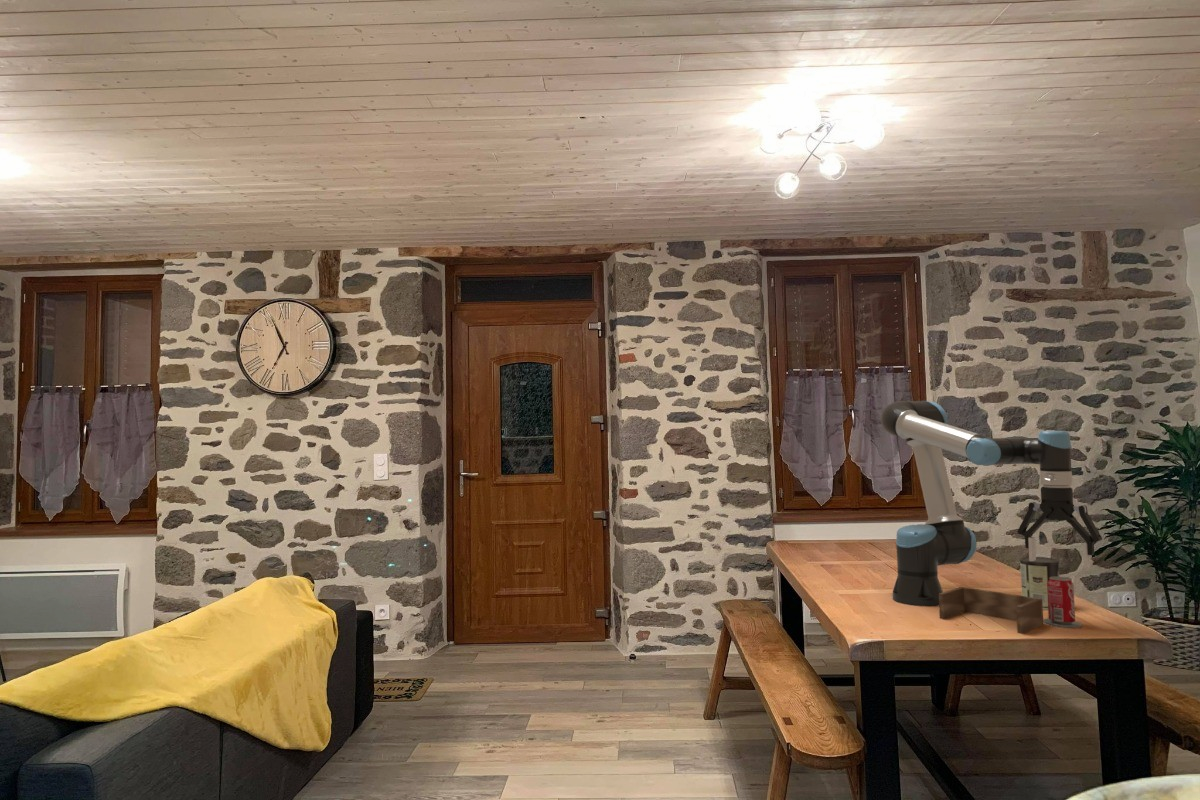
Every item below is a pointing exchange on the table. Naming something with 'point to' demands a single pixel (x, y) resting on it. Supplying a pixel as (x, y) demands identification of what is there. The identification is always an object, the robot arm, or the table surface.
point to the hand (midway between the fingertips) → (1059, 563)
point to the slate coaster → (1072, 625)
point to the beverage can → (1061, 600)
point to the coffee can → (1037, 577)
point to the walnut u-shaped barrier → (993, 606)
